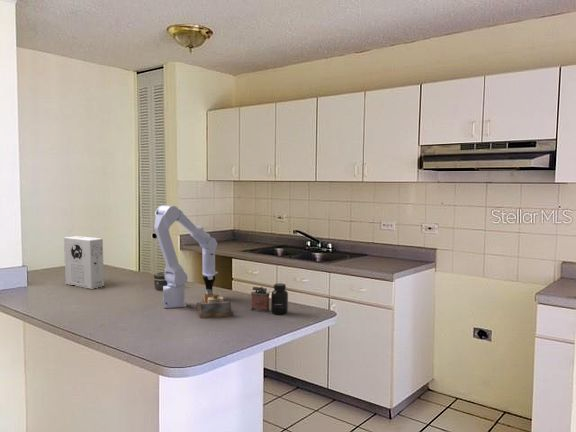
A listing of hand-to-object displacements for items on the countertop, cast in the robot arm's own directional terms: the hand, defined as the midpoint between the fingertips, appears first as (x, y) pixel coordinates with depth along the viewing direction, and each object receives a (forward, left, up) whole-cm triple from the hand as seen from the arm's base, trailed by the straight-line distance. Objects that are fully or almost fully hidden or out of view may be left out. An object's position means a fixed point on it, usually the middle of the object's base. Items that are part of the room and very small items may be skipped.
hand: (209, 292), depth 226 cm
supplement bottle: (+26, -31, -3) cm, 41 cm away
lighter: (+19, -25, -3) cm, 32 cm away
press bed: (0, -15, -3) cm, 16 cm away
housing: (+1, -24, -2) cm, 24 cm away
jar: (-20, +27, -3) cm, 34 cm away
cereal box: (-60, +44, -3) cm, 74 cm away
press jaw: (0, -8, -2) cm, 8 cm away
